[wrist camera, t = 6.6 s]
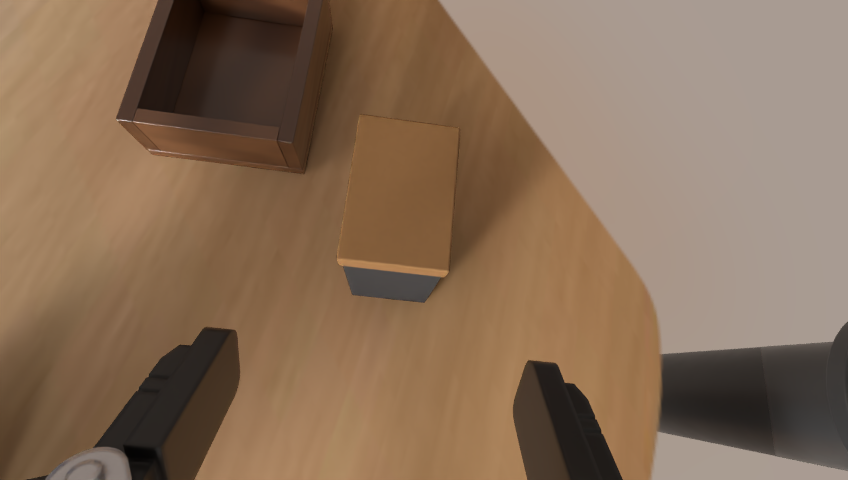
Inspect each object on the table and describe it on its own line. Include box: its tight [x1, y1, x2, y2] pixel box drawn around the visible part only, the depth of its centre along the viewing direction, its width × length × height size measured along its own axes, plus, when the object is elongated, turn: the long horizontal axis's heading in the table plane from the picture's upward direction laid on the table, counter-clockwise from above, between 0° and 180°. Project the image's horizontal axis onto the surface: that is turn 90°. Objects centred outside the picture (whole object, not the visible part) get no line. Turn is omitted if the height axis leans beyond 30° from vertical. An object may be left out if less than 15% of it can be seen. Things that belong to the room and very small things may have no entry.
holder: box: [116, 0, 333, 174], centre depth 25 cm, size 9×11×4 cm
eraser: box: [337, 114, 460, 303], centre depth 21 cm, size 4×6×8 cm
